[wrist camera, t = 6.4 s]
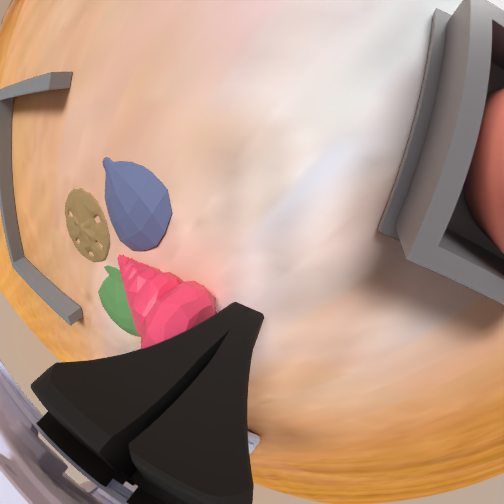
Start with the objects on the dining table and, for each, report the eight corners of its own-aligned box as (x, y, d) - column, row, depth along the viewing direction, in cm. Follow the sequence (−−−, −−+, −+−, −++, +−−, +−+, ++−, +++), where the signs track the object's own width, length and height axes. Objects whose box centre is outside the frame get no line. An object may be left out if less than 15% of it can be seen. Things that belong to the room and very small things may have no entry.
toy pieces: (220, 139, 9) (134, 151, 6) (242, 367, 14) (204, 429, 10) (58, 169, 14) (2, 188, 10) (98, 316, 18) (58, 349, 14)
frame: (83, 316, 19) (70, 325, 18) (22, 261, 22) (12, 266, 20) (72, 71, 10) (51, 72, 9) (12, 87, 13) (-2, 90, 12)
